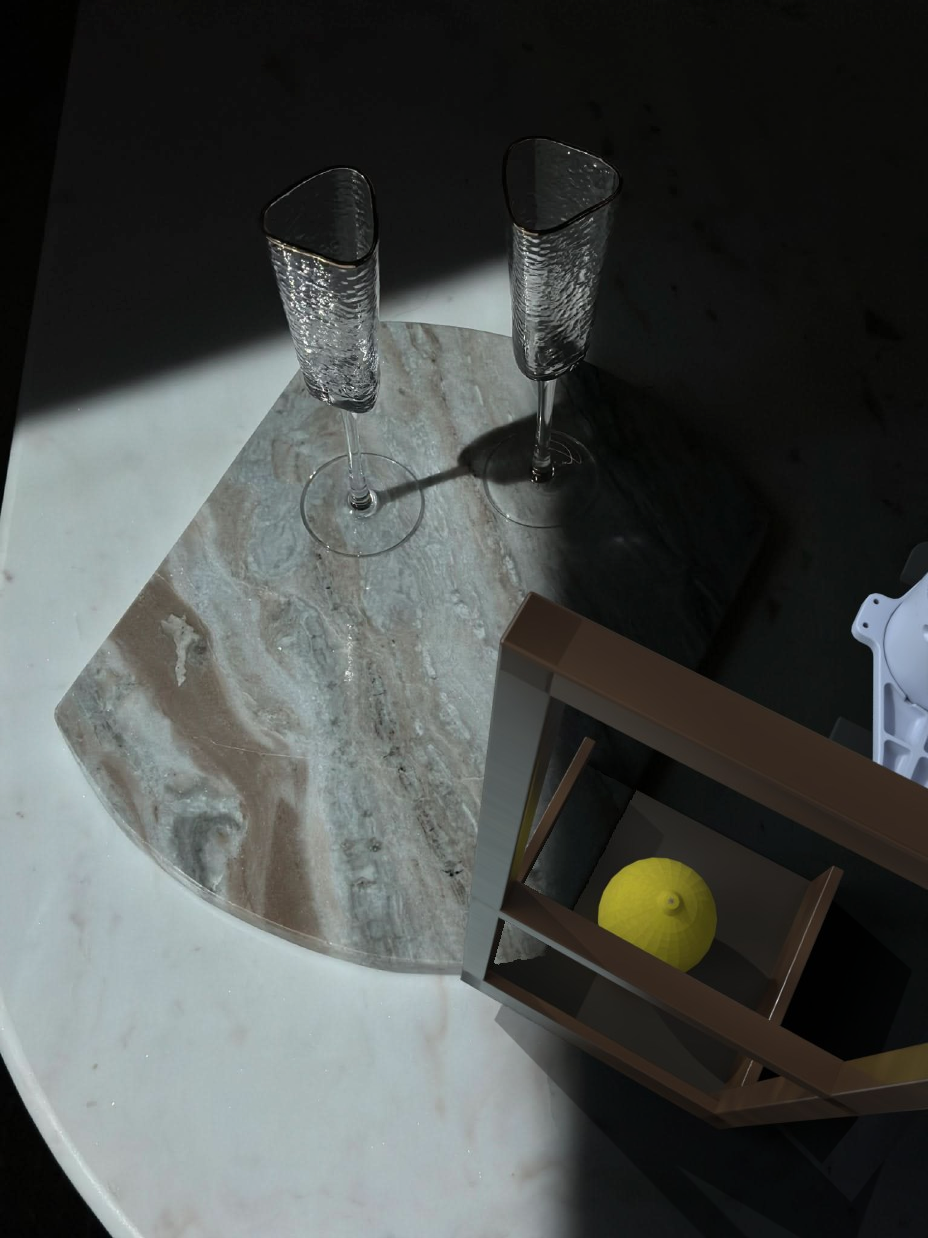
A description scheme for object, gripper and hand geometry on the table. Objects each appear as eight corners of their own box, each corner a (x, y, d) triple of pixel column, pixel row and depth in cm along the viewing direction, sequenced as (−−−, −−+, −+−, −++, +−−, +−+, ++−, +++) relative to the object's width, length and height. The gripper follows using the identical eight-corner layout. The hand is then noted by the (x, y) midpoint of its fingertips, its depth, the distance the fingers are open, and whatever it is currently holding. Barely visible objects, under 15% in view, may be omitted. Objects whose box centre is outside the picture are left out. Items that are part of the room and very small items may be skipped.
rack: (577, 760, 63) (788, 152, 25) (820, 887, 60) (1475, 426, 22) (459, 979, 58) (497, 641, 20) (719, 1129, 55) (1338, 1072, 17)
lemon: (638, 856, 60) (666, 815, 53) (719, 933, 59) (758, 902, 52) (566, 931, 59) (584, 900, 52) (647, 1013, 57) (678, 992, 50)
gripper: (964, 414, 45) (852, 573, 57) (829, 719, 40) (737, 823, 52) (1142, 491, 44) (988, 637, 56) (1028, 818, 38) (884, 900, 51)
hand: (877, 731), depth 54 cm, fingers open, 7 cm apart
